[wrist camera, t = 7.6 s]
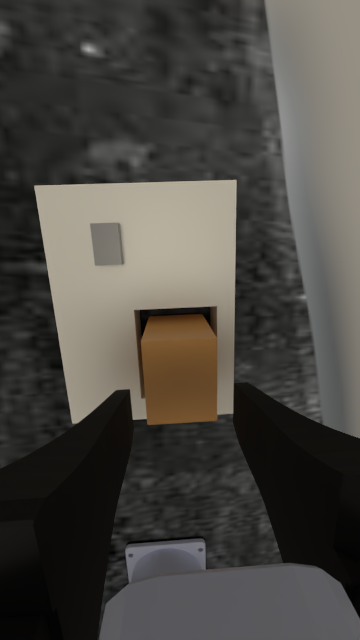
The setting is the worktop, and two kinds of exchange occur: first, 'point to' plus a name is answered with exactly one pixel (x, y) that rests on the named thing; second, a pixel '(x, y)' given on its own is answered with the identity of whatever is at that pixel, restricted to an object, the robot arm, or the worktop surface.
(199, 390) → the plug
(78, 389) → the socket
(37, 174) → the worktop surface
